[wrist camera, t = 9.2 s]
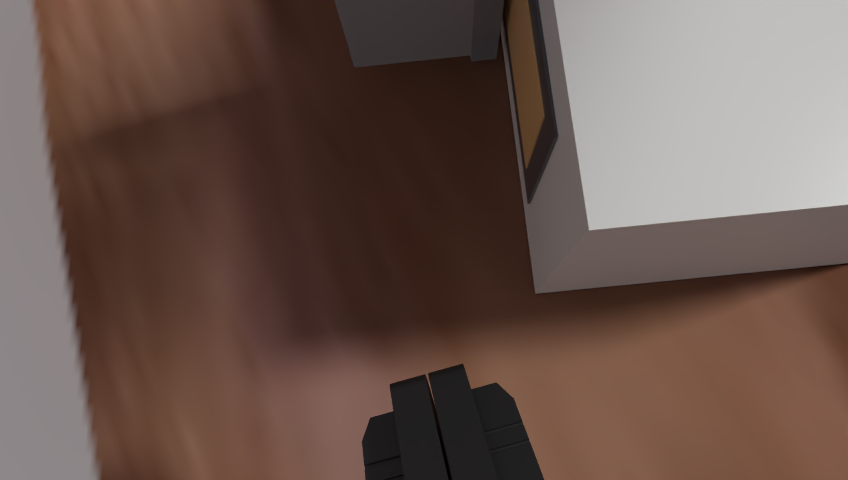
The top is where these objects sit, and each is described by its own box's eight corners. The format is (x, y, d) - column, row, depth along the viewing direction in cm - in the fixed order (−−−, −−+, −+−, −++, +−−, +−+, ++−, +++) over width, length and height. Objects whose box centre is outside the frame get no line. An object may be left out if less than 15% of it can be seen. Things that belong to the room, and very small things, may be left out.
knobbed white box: (772, -91, 28) (964, -379, 18) (858, 262, 25) (1160, 165, 14) (485, -60, 28) (505, -326, 18) (531, 294, 25) (589, 222, 14)
